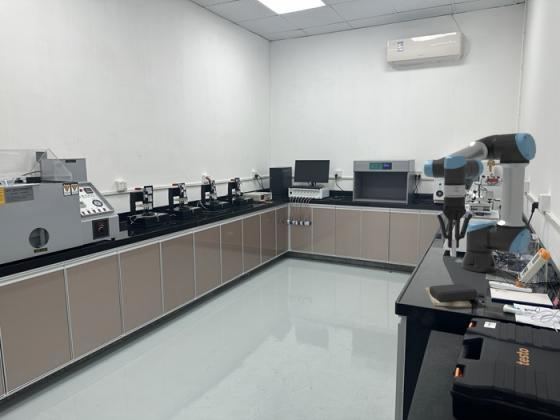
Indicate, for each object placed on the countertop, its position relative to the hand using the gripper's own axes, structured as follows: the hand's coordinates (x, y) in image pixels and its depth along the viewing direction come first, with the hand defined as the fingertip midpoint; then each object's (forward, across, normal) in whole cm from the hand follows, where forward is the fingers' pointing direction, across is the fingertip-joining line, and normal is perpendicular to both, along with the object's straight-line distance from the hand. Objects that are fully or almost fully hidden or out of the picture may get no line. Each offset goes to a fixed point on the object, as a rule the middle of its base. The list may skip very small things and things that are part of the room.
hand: (453, 255), depth 151 cm
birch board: (+17, -2, -1) cm, 17 cm away
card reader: (+14, +7, -1) cm, 16 cm away
